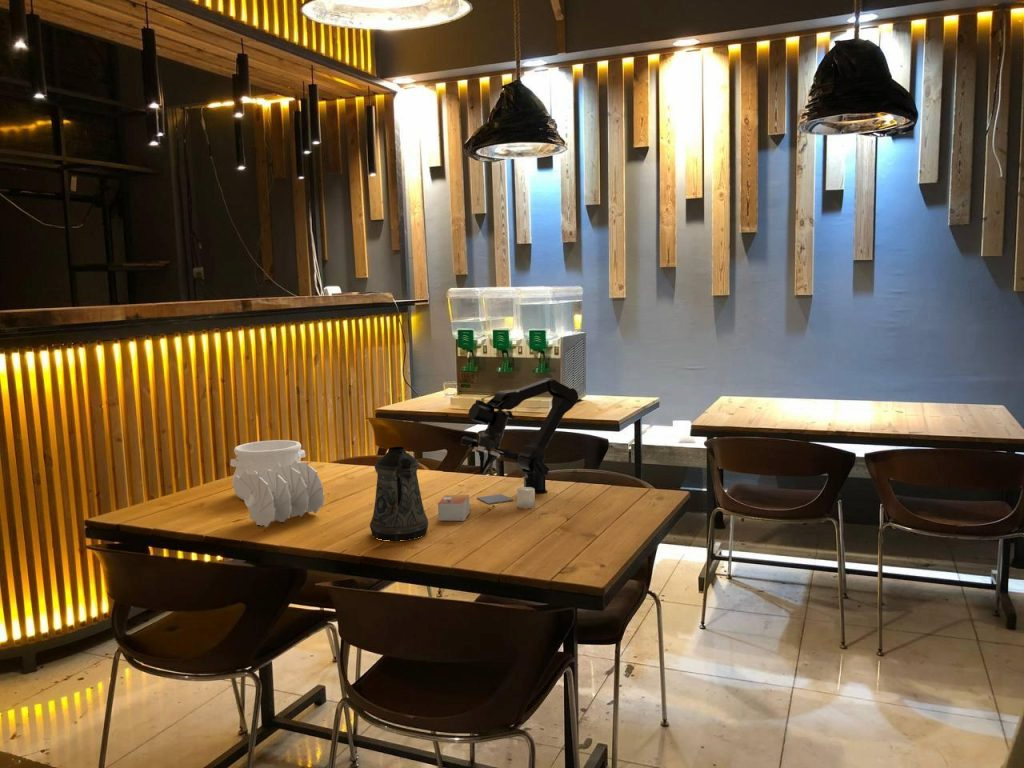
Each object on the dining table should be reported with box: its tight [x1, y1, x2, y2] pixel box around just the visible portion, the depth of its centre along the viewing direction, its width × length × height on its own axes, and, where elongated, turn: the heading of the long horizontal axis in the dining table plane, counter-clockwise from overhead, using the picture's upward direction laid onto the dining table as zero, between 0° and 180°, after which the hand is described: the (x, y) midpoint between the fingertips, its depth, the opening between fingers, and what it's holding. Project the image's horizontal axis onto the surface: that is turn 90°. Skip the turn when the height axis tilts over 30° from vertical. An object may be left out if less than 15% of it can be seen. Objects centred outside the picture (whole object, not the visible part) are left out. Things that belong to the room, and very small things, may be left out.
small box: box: [437, 494, 471, 522], centre depth 253 cm, size 8×6×10 cm
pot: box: [230, 439, 306, 501], centre depth 286 cm, size 26×24×18 cm
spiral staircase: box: [232, 460, 325, 528], centre depth 253 cm, size 18×18×25 cm
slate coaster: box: [476, 493, 514, 505], centre depth 272 cm, size 9×9×1 cm
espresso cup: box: [516, 486, 536, 510], centre depth 264 cm, size 6×8×6 cm
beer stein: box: [369, 446, 429, 541], centre depth 234 cm, size 16×19×25 cm
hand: (481, 473), depth 270 cm, fingers closed
